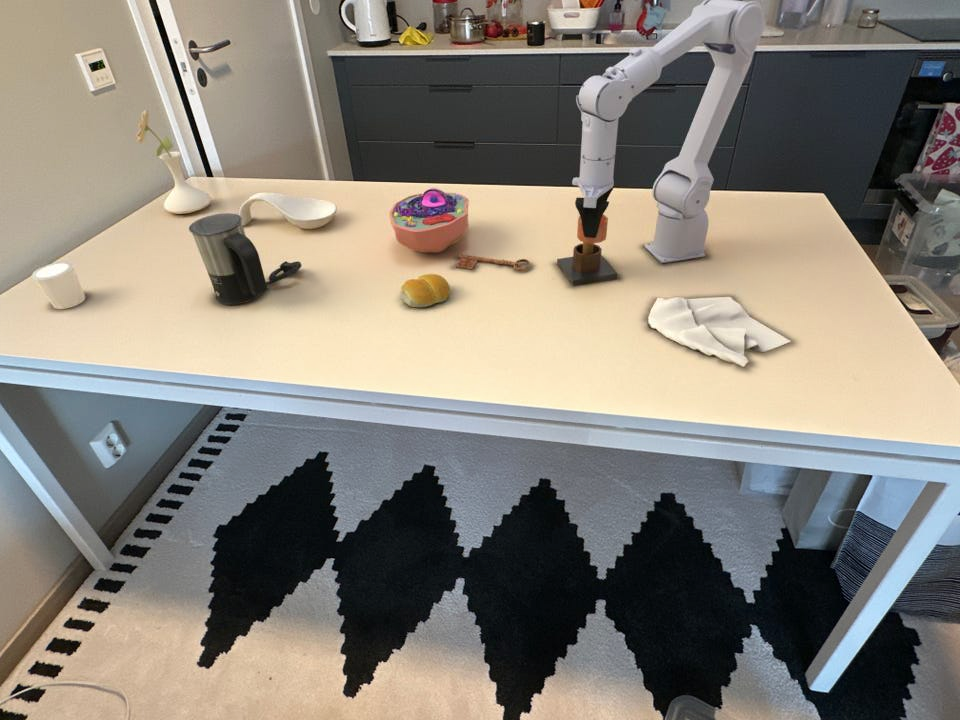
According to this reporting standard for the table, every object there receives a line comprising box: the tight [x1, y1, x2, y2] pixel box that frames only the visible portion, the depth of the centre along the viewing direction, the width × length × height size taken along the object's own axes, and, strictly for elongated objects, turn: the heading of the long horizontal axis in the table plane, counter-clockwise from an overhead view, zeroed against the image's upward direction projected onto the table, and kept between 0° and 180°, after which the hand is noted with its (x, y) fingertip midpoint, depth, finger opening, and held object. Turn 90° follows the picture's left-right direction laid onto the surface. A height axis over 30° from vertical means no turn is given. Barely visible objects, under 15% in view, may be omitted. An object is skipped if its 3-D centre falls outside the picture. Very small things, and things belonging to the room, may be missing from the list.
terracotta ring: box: [576, 214, 609, 244], centre depth 106 cm, size 5×5×4 cm
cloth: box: [647, 296, 791, 368], centre depth 96 cm, size 20×22×2 cm
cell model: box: [388, 187, 470, 254], centre depth 123 cm, size 17×20×11 cm
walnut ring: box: [572, 243, 603, 273], centre depth 112 cm, size 5×5×4 cm
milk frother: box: [188, 212, 303, 306], centre depth 111 cm, size 14×16×15 cm
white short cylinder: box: [31, 261, 86, 310], centre depth 112 cm, size 7×7×7 cm
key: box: [455, 254, 531, 272], centre depth 117 cm, size 6×1×15 cm
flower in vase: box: [136, 109, 212, 215], centre depth 141 cm, size 13×11×25 cm
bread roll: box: [400, 273, 451, 308], centre depth 108 cm, size 8×9×4 cm
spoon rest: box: [238, 191, 338, 230], centre depth 137 cm, size 24×12×7 cm, turn 83°
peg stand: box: [556, 242, 618, 287], centre depth 112 cm, size 9×9×7 cm
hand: (592, 229), depth 106 cm, fingers closed on terracotta ring, 5 cm apart
